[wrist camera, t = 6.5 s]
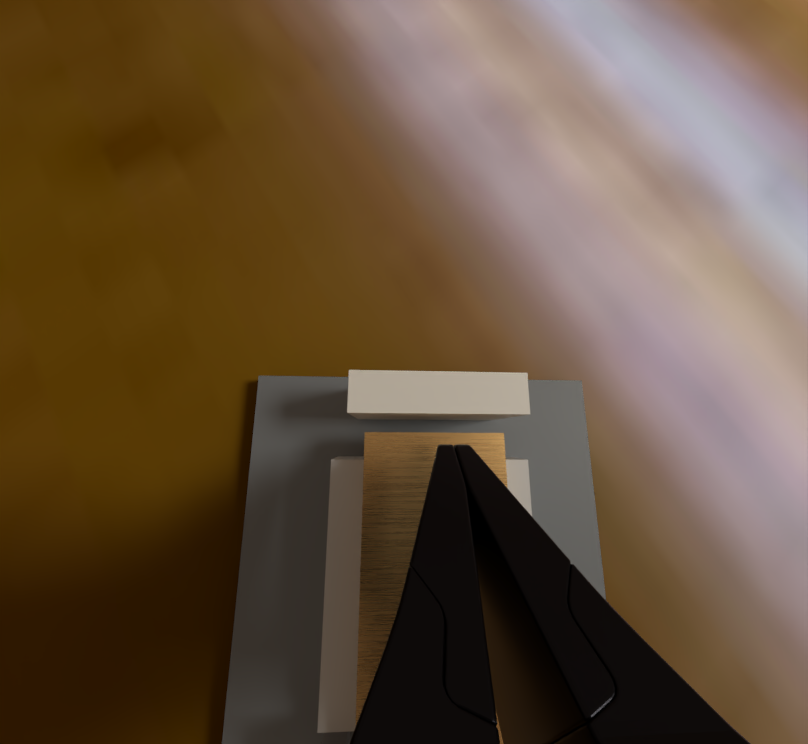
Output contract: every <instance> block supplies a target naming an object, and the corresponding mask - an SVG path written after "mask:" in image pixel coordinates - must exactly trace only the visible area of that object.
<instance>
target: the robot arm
mask: <svg viewBox="0 0 808 744" xmlns="http://www.w3.org/2000/svg"><path fill="white" fill-rule="evenodd" d="M496 713H497V716H496ZM497 717H498V722H499V726H500V731H501V735H502V740H503V744H750V743H749V742H748V741H747V740H746V739H745V738H744V737H743V736H741V735H740V734H739V733H738V732H737V731H736V730H735V729H734V728H732V727H731V726H730V725H729V724H728V723H727V722H726V721H725V720H724V719H723V718H722V717H721V716H720V715H719V714H718V713H717V712H716V711H715V710H714V709H713V708H712V707H711V706H710V705H709V704H708V703H707V702H706V701H705V700H704V699H703V698H702V697H701V696H700V695H699V694H698V693H697V692H696V691H695V690H694V689H693V688H692V687H691V686H690V685H689V684H688V683H687V682H686V681H685V680H684V679H683V678H682V677H681V676H680V675H679V674H678V673H677V672H676V671H675V670H674V669H673V668H672V667H671V666H670V665H669V664H668V663H667V662H666V661H665V660H664V659H663V658H662V657H661V656H660V655H659V654H658V653H657V652H656V651H655V650H654V649H653V648H652V647H651V646H649V645H648V644H647V643H646V642H645V641H644V640H643V639H642V638H641V637H640V635H639V634H638V633H637V632H636V631H635V630H634V629H633V628H632V627H631V626H630V625H629V624H628V623H627V622H626V621H625V620H624V619H623V618H622V617H621V616H620V615H619V614H618V613H617V612H616V611H615V610H614V609H613V608H612V607H611V606H610V604H609V603H608V602H607V601H606V600H605V599H604V598H603V597H602V596H601V594H600V593H599V592H598V591H597V590H596V589H595V588H594V587H593V586H592V585H591V583H590V582H589V581H588V580H587V579H586V578H585V577H584V575H583V574H582V573H581V572H580V571H579V570H578V569H577V567H576V566H575V565H574V564H571V561H570V560H569V558H568V557H567V556H566V555H565V554H564V553H563V552H562V550H561V549H560V548H559V547H558V546H557V545H556V544H555V542H554V541H553V540H552V539H551V538H550V537H549V535H548V534H547V533H546V532H545V531H544V530H543V529H542V527H541V526H540V525H539V524H538V523H537V522H536V521H535V519H534V518H533V517H532V516H531V515H530V514H529V512H528V511H527V510H526V509H525V508H524V507H523V506H522V504H521V503H520V502H519V501H518V500H517V499H516V498H515V496H514V495H513V494H512V493H511V492H510V491H509V490H508V488H507V487H506V486H505V485H504V484H503V483H502V481H501V480H500V479H499V478H498V477H497V476H496V475H495V473H494V472H493V471H492V470H491V469H490V468H489V467H488V465H487V464H486V463H485V462H484V461H483V460H482V458H481V457H480V456H479V455H478V454H477V453H476V452H475V450H474V449H473V448H472V447H471V446H470V445H468V444H456V445H454V446H453V445H451V444H439V445H438V447H437V451H436V455H435V459H434V463H433V467H432V472H431V476H430V480H429V484H428V488H427V492H426V497H425V501H424V505H423V509H422V513H421V518H420V522H419V526H418V530H417V534H416V538H415V543H414V547H413V551H412V555H411V559H410V564H409V568H408V571H407V575H406V579H405V584H404V588H403V591H402V595H401V599H400V602H399V606H398V610H397V613H396V617H395V619H394V622H393V625H392V628H391V631H390V634H389V637H388V640H387V643H386V646H385V649H384V652H383V654H382V657H381V660H380V662H379V665H378V668H377V670H376V673H375V676H374V679H373V681H372V684H371V687H370V689H369V692H368V695H367V698H366V700H365V703H364V706H363V708H362V711H361V714H360V716H359V719H358V722H357V725H356V727H355V730H354V733H353V735H352V738H351V741H350V743H349V744H500V739H499V732H498V728H497V727H496V726H497Z"/></svg>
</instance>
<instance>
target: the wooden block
mask: <svg viewBox="0 0 808 744" xmlns="http://www.w3.org/2000/svg"><path fill="white" fill-rule="evenodd" d="M439 444H451V445H453V446H454V445H456V444H468V445H470V446H471V447H472V448H473V449H474V450H475V452H476V453H477V454H478V455H479V456H480V457H481V458H482V460H483V461H484V462H485V463H486V464H487V465H488V467H489V468H490V469H491V470H492V471H493V472H494V473H495V475H496V476H497V477H498V478H499V479H500V480H501V481H502V483H503V484H504V485H505V486H506V487H507V472H506V456H505V441H504V433H432V432H365V438H364V470H363V502H362V534H361V566H360V598H359V630H358V662H357V694H356V725H357V722H358V719H359V716H360V714H361V711H362V708H363V706H364V703H365V700H366V698H367V695H368V692H369V689H370V687H371V684H372V681H373V679H374V676H375V673H376V670H377V668H378V665H379V662H380V660H381V657H382V654H383V652H384V649H385V646H386V643H387V640H388V637H389V634H390V631H391V628H392V625H393V622H394V619H395V617H396V613H397V610H398V606H399V602H400V599H401V595H402V591H403V588H404V584H405V579H406V575H407V571H408V568H409V564H410V559H411V555H412V551H413V547H414V543H415V538H416V534H417V530H418V526H419V522H420V518H421V513H422V509H423V505H424V501H425V497H426V492H427V488H428V484H429V480H430V476H431V472H432V467H433V463H434V459H435V455H436V451H437V447H438V445H439ZM507 488H508V487H507ZM496 716H497V713H496ZM355 727H356V726H355ZM496 727H497V728H498V732H499V739H500V744H503V740H502V735H501V731H500V726H499V722H498V717H497V726H496Z"/></svg>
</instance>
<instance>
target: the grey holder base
mask: <svg viewBox="0 0 808 744" xmlns="http://www.w3.org/2000/svg"><path fill="white" fill-rule="evenodd" d="M365 432H432V433H504V441H505V456H506V472H507V487H508V490H509V491H510V492H511V493H512V494H513V495H514V496H515V498H516V499H517V500H518V501H519V502H520V503H521V504H522V506H523V507H524V508H525V509H526V510H527V511H528V512H529V514H530V515H531V516H532V517H533V518H534V519H535V521H536V522H537V523H538V524H539V525H540V526H541V527H542V529H543V530H544V531H545V532H546V533H547V534H548V535H549V537H550V538H551V539H552V540H553V541H554V542H555V544H556V545H557V546H558V547H559V548H560V549H561V550H562V552H563V553H564V554H565V555H566V556H567V557H568V558H569V560H570V561H571V564H574V565H575V566H576V567H577V569H578V570H579V571H580V572H581V573H582V574H583V575H584V577H585V578H586V579H587V580H588V581H589V582H590V583H591V585H592V586H593V587H594V588H595V589H596V590H597V591H598V592H599V593H600V594H601V596H602V597H603V598H604V599H605V600H606V596H605V587H604V578H603V569H602V560H601V551H600V542H599V533H598V524H597V515H596V506H595V497H594V488H593V479H592V470H591V461H590V452H589V443H588V434H587V425H586V416H585V407H584V398H583V389H582V381H567V380H528V376H527V373H506V372H446V371H386V370H349V377H307V376H259V379H258V389H257V399H256V408H255V418H254V428H253V438H252V448H251V458H250V468H249V478H248V488H247V498H246V508H245V518H244V528H243V538H242V548H241V558H240V568H239V577H238V587H237V597H236V607H235V617H234V627H233V637H232V647H231V657H230V667H229V677H228V687H227V697H226V707H225V717H224V727H223V737H222V744H349V743H350V741H351V738H352V735H353V733H354V730H355V726H356V694H357V662H358V630H359V598H360V566H361V534H362V502H363V470H364V438H365Z"/></svg>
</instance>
